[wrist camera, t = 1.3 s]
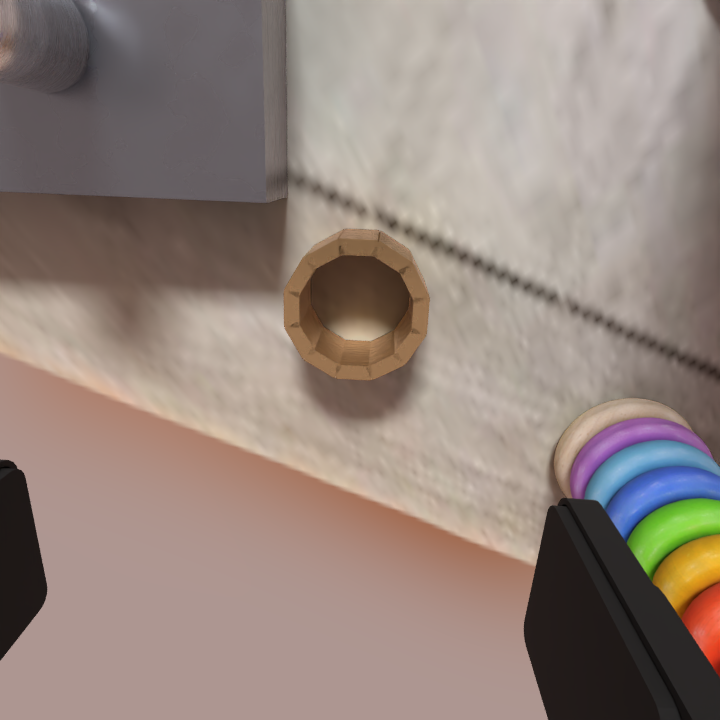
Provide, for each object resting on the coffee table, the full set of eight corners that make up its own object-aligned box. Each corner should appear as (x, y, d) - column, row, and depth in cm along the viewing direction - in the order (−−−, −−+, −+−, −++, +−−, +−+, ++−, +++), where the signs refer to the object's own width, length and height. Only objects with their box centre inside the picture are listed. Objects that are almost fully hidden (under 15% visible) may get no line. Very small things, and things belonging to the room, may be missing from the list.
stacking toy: (559, 390, 30) (797, 702, 13) (699, 393, 30) (1147, 718, 12) (542, 504, 33) (718, 889, 15) (670, 508, 32) (1002, 907, 15)
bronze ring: (428, 232, 27) (434, 242, 24) (418, 356, 30) (422, 383, 26) (297, 226, 28) (282, 235, 24) (297, 349, 30) (284, 375, 26)
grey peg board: (284, -87, 23) (184, -332, 12) (287, 196, 27) (216, 217, 16) (-109, -96, 23) (-563, -337, 12) (-45, 182, 28) (-342, 193, 16)
